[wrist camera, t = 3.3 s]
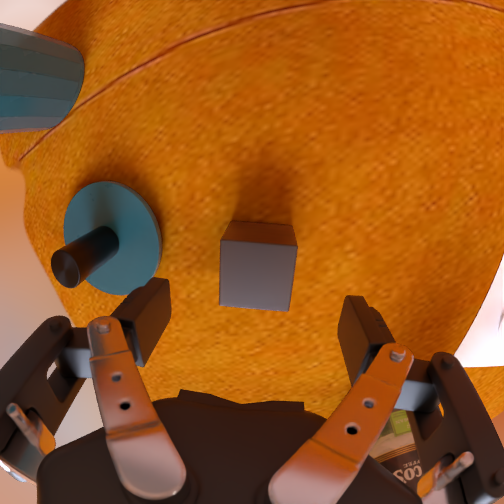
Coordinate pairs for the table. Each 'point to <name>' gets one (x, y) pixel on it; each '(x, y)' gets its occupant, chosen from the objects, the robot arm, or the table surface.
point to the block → (257, 266)
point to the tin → (36, 80)
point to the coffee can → (398, 449)
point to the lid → (108, 240)
